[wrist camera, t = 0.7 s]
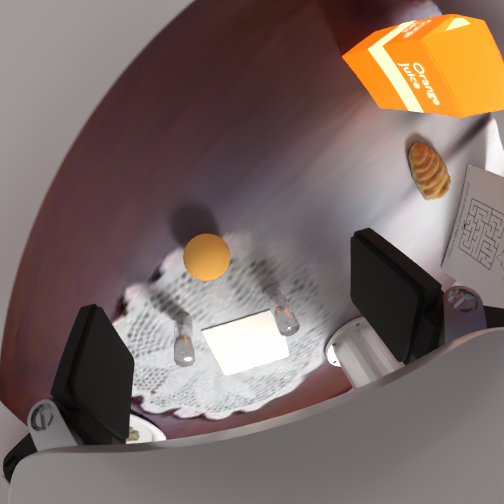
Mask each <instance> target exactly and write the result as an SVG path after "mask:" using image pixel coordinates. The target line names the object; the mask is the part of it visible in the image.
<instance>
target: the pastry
mask: <svg viewBox="0 0 504 504" xmlns="http://www.w3.org/2000/svg"><path fill="white" fill-rule="evenodd" d="M408 160H409V162H410V165H411V174H412V178H413V179H414V181H415V183H416V185H417V187H418V189H419V191H420V192H421V194H422V196H423V197H424V199H425V200H430V199H432V200H434V199H436V198H441V197H442V196H443V195H445V193H446V192H447V191H448V190H449V185H450V183H451V180H450V176H449V175H448V171H447V168H446V166H445V163H444V162H443V161H442V159H441V157H440V156H439V155H438V153H437V152H435V151H434V150H433V149H431V148H430V147H428V146H427V144H424V143H417V142H416V143H414V145H413V146H412V147H411V149H410V152H409V155H408Z"/></svg>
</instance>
